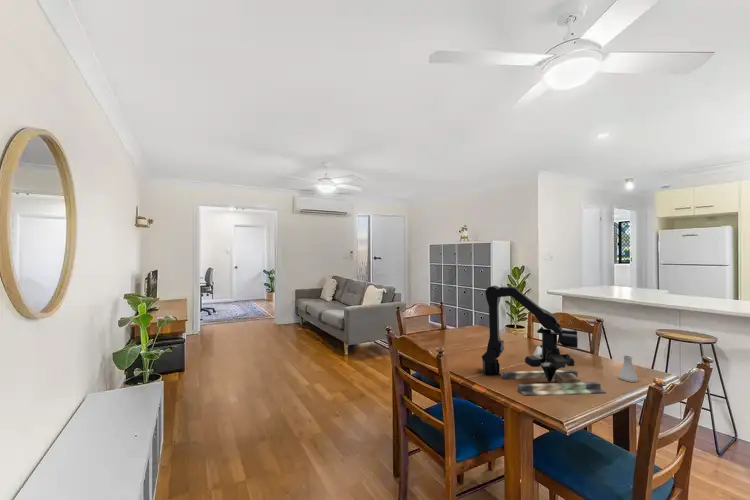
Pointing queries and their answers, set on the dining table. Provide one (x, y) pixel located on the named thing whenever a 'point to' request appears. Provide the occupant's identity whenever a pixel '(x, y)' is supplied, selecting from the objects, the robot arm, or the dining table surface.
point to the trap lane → (552, 384)
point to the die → (538, 352)
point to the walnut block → (566, 378)
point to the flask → (628, 370)
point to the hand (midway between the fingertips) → (549, 381)
